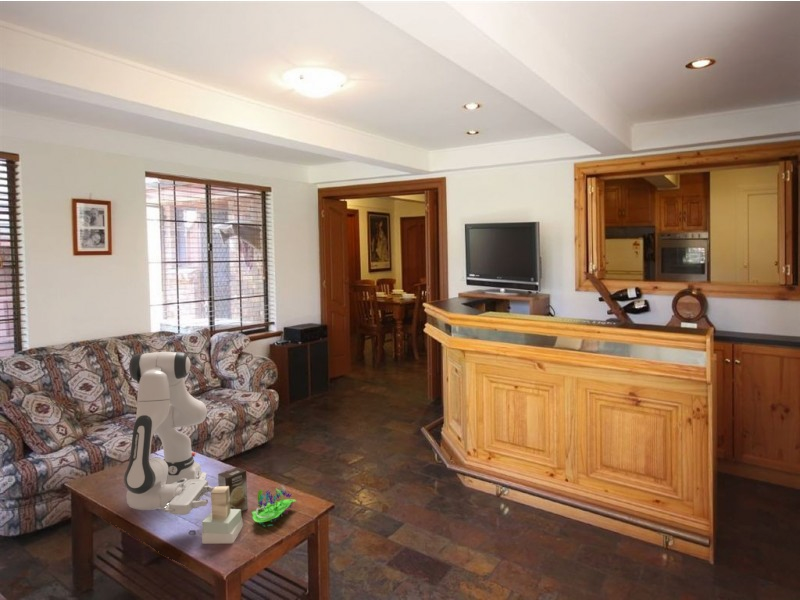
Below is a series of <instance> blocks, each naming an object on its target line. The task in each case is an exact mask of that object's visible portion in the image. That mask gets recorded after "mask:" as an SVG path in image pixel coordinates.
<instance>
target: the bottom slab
mask: <svg viewBox="0 0 800 600" xmlns="http://www.w3.org/2000/svg"><path fill="white" fill-rule="evenodd" d="M243 526H244V525H243V518H242V517H241V521H240V522H239V523H238V524H237V525H236V527H235V528H234V529H233V530H232V531H231V532H230V533H229V534H221V533H207V532H203V531H202V533H201V539H202V540H201V541H202V544H234V542H235V541H236V539H237V538H238V536H239V534H240V533H241V530H242V529H243Z"/></svg>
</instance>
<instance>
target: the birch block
mask: <svg viewBox="0 0 800 600" xmlns="http://www.w3.org/2000/svg"><path fill="white" fill-rule="evenodd" d="M214 487H215V488H214V489H213V490H212V492H210V499H211V500H210V501H211V503H210V504H211V512H212V519H227V517H228V515H229V514H230V512H231V511H230V494H229V486H219V485H218V486H214Z"/></svg>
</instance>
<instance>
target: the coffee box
mask: <svg viewBox="0 0 800 600" xmlns="http://www.w3.org/2000/svg"><path fill="white" fill-rule="evenodd" d="M217 475H218V476H217V479H218V483H217V484H218V486H229V494H230V509H241V513H242V512H244V511H247V510H248V509H249V506H248V505H249V504H248V502H249V501H248V483H247V482H248V481H247V470H245V469H243V468H241V467H238V466H237V467H234V468H231V469H229V470H228V469H227V470H226V471H223V472H220V473H218V474H217Z"/></svg>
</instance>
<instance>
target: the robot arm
mask: <svg viewBox="0 0 800 600" xmlns="http://www.w3.org/2000/svg"><path fill="white" fill-rule="evenodd" d="M191 365H192V364H191V359H190V356H189V355H188V354H187V353H185V352H182V351H176V352H175V351H157V352H156V351H155V352H147V353H144V352H142V353H136V354H134V355H133V356H132V357H130V361H129V364H128V371H129V376H130V377H131V378H132V379H133V380H134V381H136V383H138V387H137V388H138V389H137V395H136V400H137V401H136V416H135V421H134V425H133V430H132V438H131V447H130V455H129V456H130V457H129V461H128V462H129V463H128V466H127V468H126V470H125V473H124V477H123V483H124V486H125V488H126V489H127V491H126V494H125V495H126V503H127V505H128V507H130V508H131V509H134V510H139V511H153V510H158V509H159V510H162V511H164V512H166V513H169V514H171V515H179V516H181V515H182V516H183V515H188V514H190V513H191V511H193V509H196V508H199V507H206V506H207V505H208V503H209V502H208V499H206V498H204V499H203V498H202V497H203V496H204V495H205V494H206V493H211V492H212V490H213V489H214V488H215V486H211V485H209V481H208V480H206V479H207V477H208V475H207V474H208V473H207V472H205V471H202V466H201V464H200V463H198V462H196V461H195V457H196V452H195V451H192V440H191V438H190V437H189V435H187V434H186V433H184V432H181V431H179V430H178V429H177V428H182V427H193V426H196V425H199V424H203V423H204V421H205V420H206V418H207V415H208V409H207V406H206V404H205V403H204V401H201V400H199V399H197V398H195V397H194V396H193V395H191V394H190V392H189V391H188V390H187V389H188V388H187V387H186V383H185V377H187V376H188V375H189V373H190V370H191ZM154 434H156V435H157V436H158V438H159V439H160V442H161V444H162V449H163V457H164V458H162V457H158V456H157V457H155V456H154V457H151V452H152V442H153V441H152V439H153V436H154Z"/></svg>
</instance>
